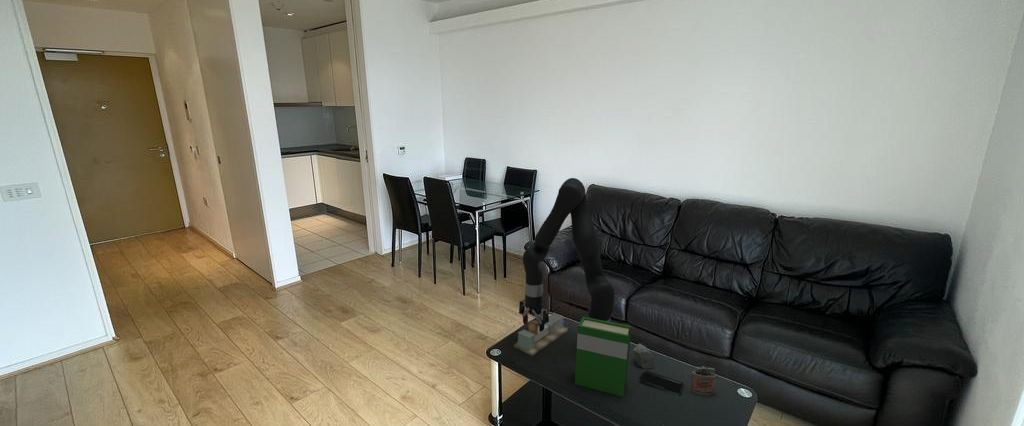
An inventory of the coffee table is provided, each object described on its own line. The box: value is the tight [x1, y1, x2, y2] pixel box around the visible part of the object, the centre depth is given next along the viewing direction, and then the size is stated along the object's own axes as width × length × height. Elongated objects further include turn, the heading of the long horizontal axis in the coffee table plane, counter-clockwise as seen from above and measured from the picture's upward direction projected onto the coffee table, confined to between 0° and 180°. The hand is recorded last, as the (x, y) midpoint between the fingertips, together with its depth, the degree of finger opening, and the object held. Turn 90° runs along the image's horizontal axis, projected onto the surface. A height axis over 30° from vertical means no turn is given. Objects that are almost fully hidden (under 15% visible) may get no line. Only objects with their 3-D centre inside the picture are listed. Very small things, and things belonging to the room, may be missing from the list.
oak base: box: [513, 326, 569, 357], centre depth 187 cm, size 27×10×1 cm, turn 140°
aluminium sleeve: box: [546, 312, 565, 336], centre depth 193 cm, size 10×5×5 cm, turn 140°
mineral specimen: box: [632, 343, 655, 370], centre depth 168 cm, size 7×9×8 cm
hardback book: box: [574, 316, 632, 398], centre depth 154 cm, size 18×7×24 cm, turn 67°
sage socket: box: [517, 329, 535, 351], centre depth 178 cm, size 4×6×6 cm, turn 50°
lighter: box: [689, 365, 717, 396], centre depth 153 cm, size 8×3×10 cm, turn 81°
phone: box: [638, 370, 685, 397], centre depth 158 cm, size 8×1×15 cm
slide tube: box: [528, 320, 550, 342], centre depth 183 cm, size 17×4×8 cm, turn 140°
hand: (533, 327), depth 181 cm, fingers open, 8 cm apart
